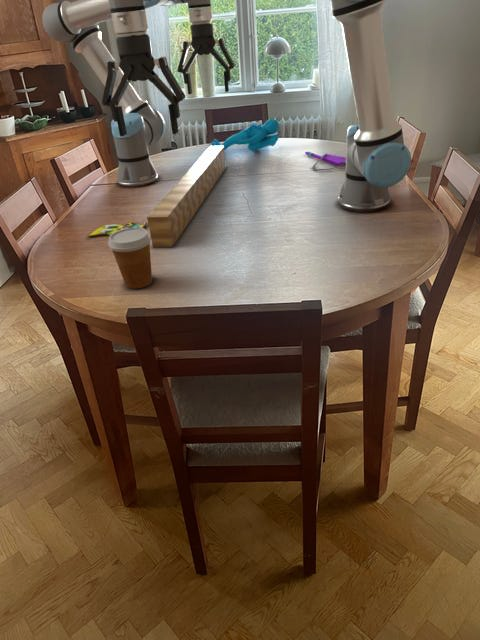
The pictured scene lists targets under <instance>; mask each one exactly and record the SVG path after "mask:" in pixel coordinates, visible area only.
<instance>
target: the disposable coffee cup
mask: <svg viewBox="0 0 480 640" xmlns="http://www.w3.org/2000/svg"><path fill="white" fill-rule="evenodd" d="M150 243H151V235H150V233H149V232H148V230H147V229H146V228H144V229H143V228H137V227H136V228H126V229H123V228H122V230H118V231H116V232H114V233H112V234H111V235H109V237H108V242H107V246H108V247H109V248H110V250H111V251H112V254H113V257H114V260H115V261H116V264H117V267H118V269H119V272H120V275H121V277H122V280H123V282H124V284H125V286H126V288H128V289H140V288H145V287H147V286H149V285H150V284H151V283H152V281H153V276H152V260H151V257H152V256H151V244H150Z"/></svg>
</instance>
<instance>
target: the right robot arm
mask: <svg viewBox="0 0 480 640" xmlns="http://www.w3.org/2000/svg"><path fill="white" fill-rule="evenodd" d="M144 1H151V0H109V5H110V9H111V16H112V19H111V20H112V26H113V32H114V34H115V35H117V37H116V38H115V43H116V48H117V52H118V57H119V61H116V60H115V59H114V60H115V61H114V60H113V61H109V62H108V63H107V67H108V75H107V80H106V85H105V86H104V89H103V94H102V100H101V104H102V106H107V107H109V108H110V111H111V115H112V120H114V122H117V123H118V128H119V133H120V136H124V135H126V134H127V131H126V126H125V121H124V116H123V111H122V106H118V105H119V102H120V100H121V98H122V96H123V94H124V92H125V90H126V88H127V86H128V84H129V83H130V84H131V82H137V81H140V82H145V81H149V82H150V83H152V84H153V85H154V87H155V88H157V90H158V91H159V92H160V93H161V94H162V95H163V96H164V97H165V98H166V99H167V100H168V101H169V104H168V107H167V108H168V113H169V120H170V126H171V132H172V135H176V134H177V133H179V131H180V130H179V125H178V119H179V118H180V117H181V111H180V105H179V104H180V102H182V101H183V100H185V99H186V94H185V92H184V90H183V89H182V88H181V86H180V83H178V81H177V79H176V77H175V75H174V74H173V72H172V70H171V68H170V66H169V63H168V59H167V57H166V56H160V57H158V58H154V56H153V51H152V42H151V38H150V36H149V34H147V32H148V31H149V25H148V24H149V23H148V18H147V12H146V9H145V6H144ZM171 1H179V0H171ZM329 1H330V7H331V13H332V18H333V19H334V20H335V21H337V22H338V23H339V24H340V25H341V29H342V36H343V43H344V48H345V55H346V60H347V66H348V72H349V77H350V82H351V88H352V94H353V100H354V106H355V112H356V113H355V114H356V118H357V123H356V124H351V125H350V126H349V127H348V128H347V133H346V137H345V139H346V148H345V149H346V150H345V157H346V165H345V176H344V181H343V182H342V186H341V189H340V192H339V195H338V197H337V206H339V208H340V209H343V210H345V211H349V212H354V213H373V212H379V211H383V210H385V209H387V208H388V207H389V206H390V205H391V194H390V189H389V187H392V186H396V185H397V184H398V183H400V182H401V181H402V180H403V179H404V178H405V177H406V176H407V175H408V173H409V171H410V169H411V166H412V156H411V155H412V154H411V152H410V150H409V148H408V147H407V146H406V145H405V142H404V133H403V125H402V123H400V122H398V121H397V120H396V119H395V115H394V107H393V106H394V105H393V100H392V91H391V83H390V75H389V68H388V61H387V53H386V45H385V37H384V30H383V22H382V21H383V20H382V13H381V11H382V8H383V6H384V5H385V3H386V1H387V0H329ZM129 11H130V12H129ZM117 12H119V13H117ZM156 66H157V68H158V69H159V70H160V71H161V73H162V75H163V77H164V78H165V81H167V83H168V85H169V86H170V87H168V85H166V83H165V82H164V81H163V80H162V79H161V78H160V77H159V75H158V74H157V72H156V71H154V70H155V67H156ZM119 68H120V69H121V71H122V72H123V74H124V75H123V77H122V79H121V82H120V84H119V86H118V88H117V90H116V92H115V94H114V96H113V98H112V93H113V89H114V84H115V79H116V74H117V71H118V70H119Z"/></svg>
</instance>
